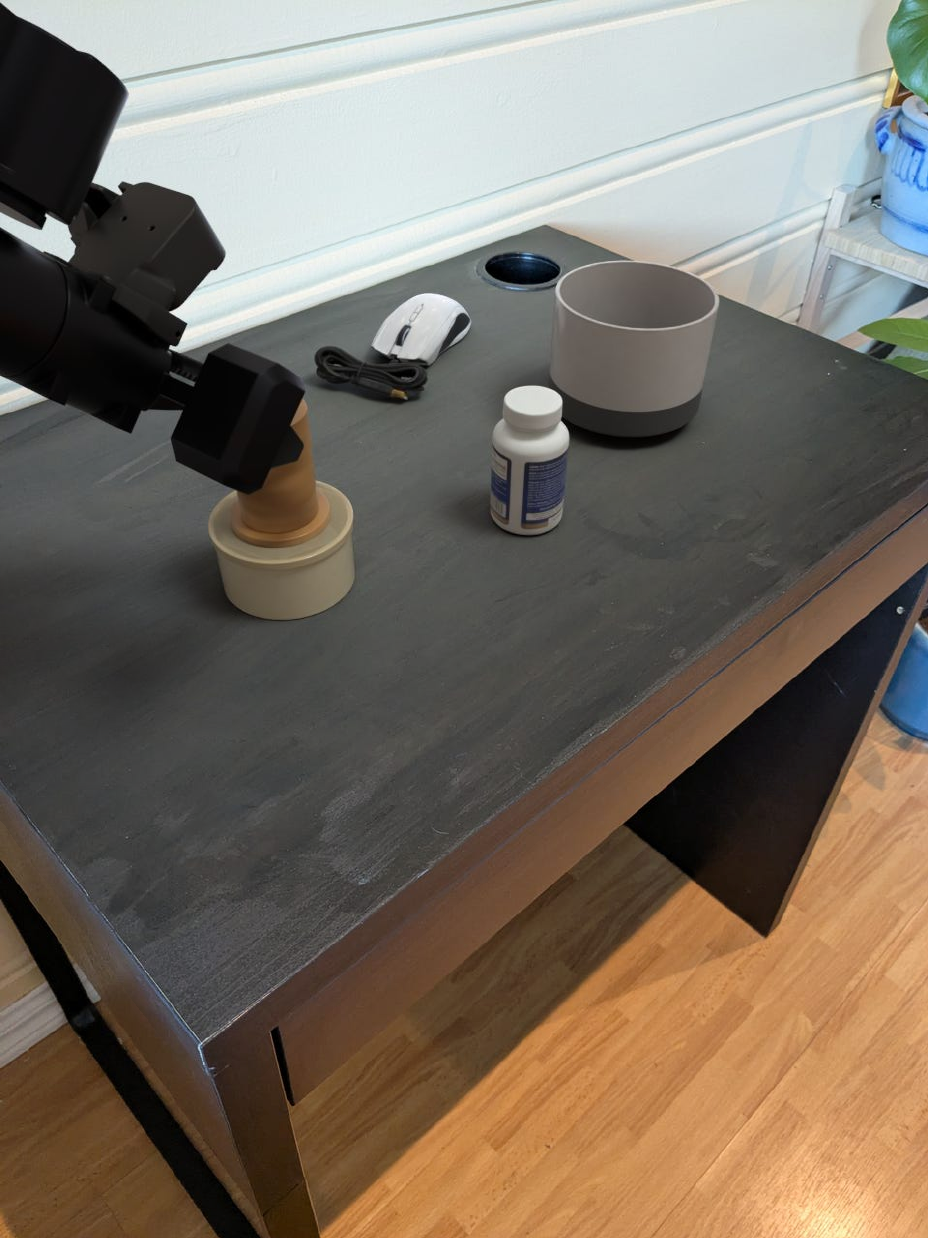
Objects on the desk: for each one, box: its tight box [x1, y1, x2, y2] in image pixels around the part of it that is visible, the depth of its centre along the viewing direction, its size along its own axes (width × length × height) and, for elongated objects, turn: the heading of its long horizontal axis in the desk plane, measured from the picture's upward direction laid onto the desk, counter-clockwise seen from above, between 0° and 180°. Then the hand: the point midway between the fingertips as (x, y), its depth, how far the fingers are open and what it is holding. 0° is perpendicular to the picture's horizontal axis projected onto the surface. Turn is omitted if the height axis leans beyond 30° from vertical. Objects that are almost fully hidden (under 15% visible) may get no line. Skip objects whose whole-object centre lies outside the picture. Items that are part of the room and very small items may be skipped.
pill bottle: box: [490, 385, 570, 536], centre depth 68 cm, size 5×5×10 cm
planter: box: [547, 260, 720, 438], centre depth 79 cm, size 13×13×10 cm
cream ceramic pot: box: [207, 480, 356, 621], centre depth 64 cm, size 9×9×5 cm
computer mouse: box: [313, 292, 472, 401], centre depth 89 cm, size 10×18×4 cm, turn 156°
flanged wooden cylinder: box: [230, 398, 330, 548], centre depth 60 cm, size 6×6×8 cm
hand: (242, 426), depth 56 cm, fingers open, 9 cm apart
